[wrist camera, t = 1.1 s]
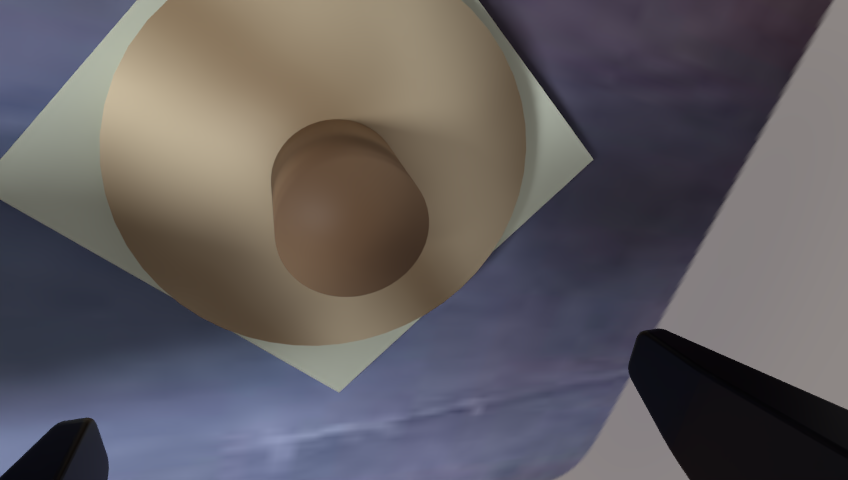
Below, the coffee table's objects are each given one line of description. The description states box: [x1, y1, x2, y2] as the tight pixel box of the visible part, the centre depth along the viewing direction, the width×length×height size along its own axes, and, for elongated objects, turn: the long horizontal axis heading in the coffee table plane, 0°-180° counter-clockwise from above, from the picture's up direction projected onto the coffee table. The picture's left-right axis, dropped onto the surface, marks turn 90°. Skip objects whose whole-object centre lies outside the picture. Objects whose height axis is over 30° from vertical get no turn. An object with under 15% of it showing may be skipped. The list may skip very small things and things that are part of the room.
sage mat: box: [0, 0, 594, 392], centre depth 17 cm, size 14×14×1 cm
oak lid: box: [100, 0, 526, 346], centre depth 15 cm, size 13×13×4 cm
